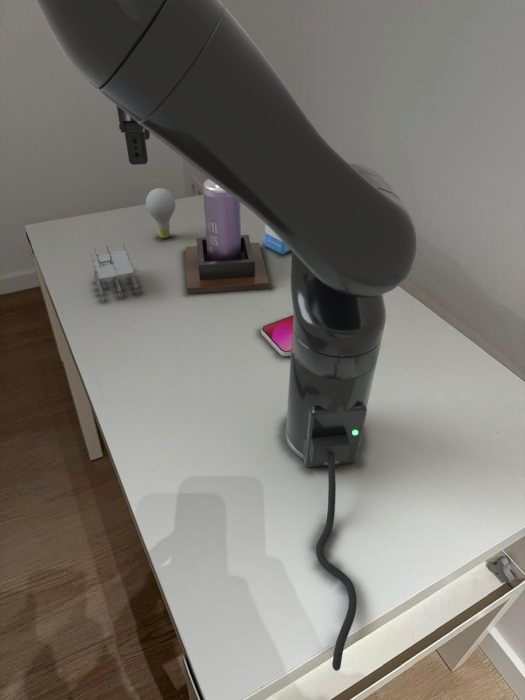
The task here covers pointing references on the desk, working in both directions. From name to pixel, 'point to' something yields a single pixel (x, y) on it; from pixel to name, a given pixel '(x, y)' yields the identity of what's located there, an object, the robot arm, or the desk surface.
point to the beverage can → (221, 223)
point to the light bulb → (161, 209)
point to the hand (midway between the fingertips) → (140, 150)
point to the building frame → (113, 268)
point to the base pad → (225, 269)
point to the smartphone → (280, 334)
